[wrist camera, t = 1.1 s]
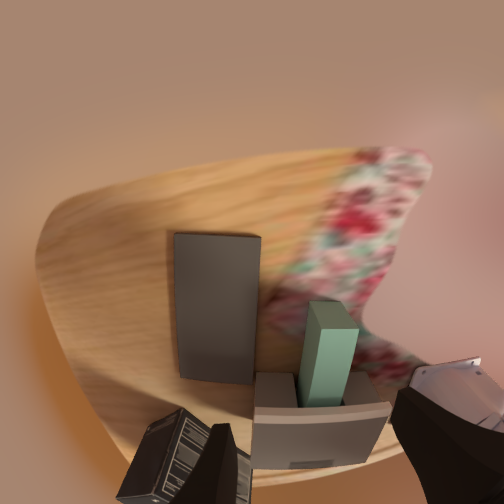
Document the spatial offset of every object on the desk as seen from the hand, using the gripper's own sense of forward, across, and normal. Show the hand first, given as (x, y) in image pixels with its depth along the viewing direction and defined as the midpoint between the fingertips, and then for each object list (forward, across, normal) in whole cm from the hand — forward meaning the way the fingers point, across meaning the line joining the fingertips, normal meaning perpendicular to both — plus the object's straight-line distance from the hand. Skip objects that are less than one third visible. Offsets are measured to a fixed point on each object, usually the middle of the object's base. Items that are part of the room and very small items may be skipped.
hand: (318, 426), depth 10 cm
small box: (+11, +10, +15) cm, 21 cm away
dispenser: (+10, -2, +9) cm, 14 cm away
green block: (+11, -2, +4) cm, 12 cm away
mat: (+12, +5, 0) cm, 13 cm away
